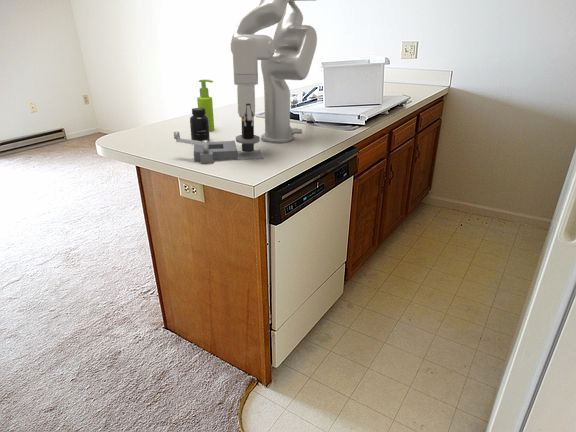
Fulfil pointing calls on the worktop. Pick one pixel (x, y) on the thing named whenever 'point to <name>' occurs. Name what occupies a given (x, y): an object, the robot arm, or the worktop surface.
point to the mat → (249, 155)
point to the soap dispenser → (206, 103)
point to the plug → (247, 143)
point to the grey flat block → (216, 152)
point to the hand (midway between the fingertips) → (248, 135)
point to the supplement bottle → (199, 125)
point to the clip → (192, 142)
